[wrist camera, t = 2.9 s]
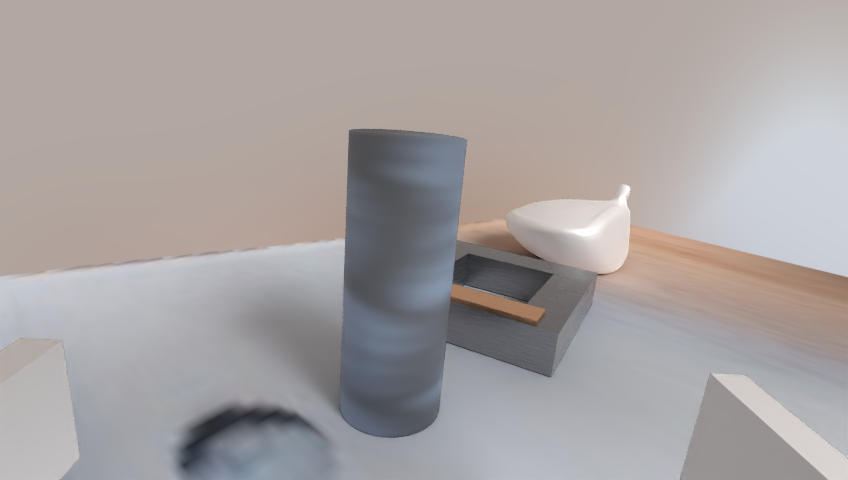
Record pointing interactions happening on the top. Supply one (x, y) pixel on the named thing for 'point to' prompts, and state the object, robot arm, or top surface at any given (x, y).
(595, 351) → the top surface
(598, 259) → the driver head
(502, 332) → the socket block
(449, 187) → the peg
